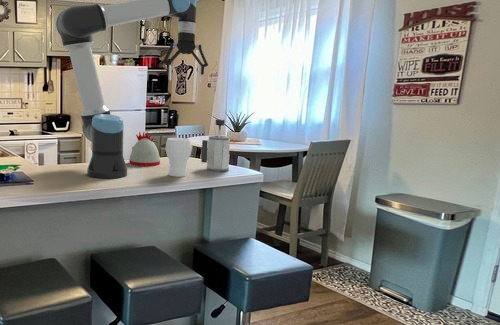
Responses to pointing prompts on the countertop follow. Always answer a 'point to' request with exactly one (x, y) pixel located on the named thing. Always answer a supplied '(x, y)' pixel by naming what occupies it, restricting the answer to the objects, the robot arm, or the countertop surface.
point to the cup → (178, 155)
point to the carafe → (216, 153)
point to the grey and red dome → (144, 152)
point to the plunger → (220, 123)
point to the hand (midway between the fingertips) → (184, 81)
